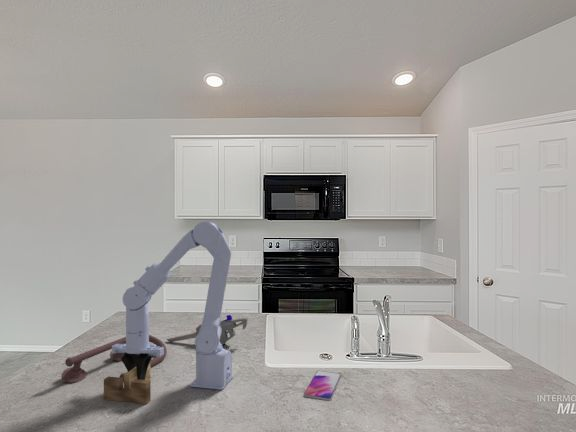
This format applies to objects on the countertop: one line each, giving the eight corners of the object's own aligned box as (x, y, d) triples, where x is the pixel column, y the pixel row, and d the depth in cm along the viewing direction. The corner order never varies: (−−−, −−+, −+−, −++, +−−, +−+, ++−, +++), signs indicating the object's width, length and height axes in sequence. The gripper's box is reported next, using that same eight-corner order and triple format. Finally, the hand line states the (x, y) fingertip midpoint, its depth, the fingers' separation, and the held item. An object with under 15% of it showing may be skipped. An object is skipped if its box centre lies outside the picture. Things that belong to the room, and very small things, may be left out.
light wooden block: (145, 378, 98) (145, 360, 98) (150, 379, 97) (150, 361, 97) (123, 394, 89) (123, 374, 89) (129, 394, 89) (129, 375, 89)
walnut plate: (150, 400, 85) (150, 380, 86) (146, 404, 84) (146, 383, 84) (108, 396, 88) (108, 376, 88) (103, 399, 86) (103, 379, 86)
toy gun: (249, 342, 122) (245, 313, 123) (166, 350, 127) (163, 322, 127) (250, 340, 124) (246, 312, 124) (169, 348, 129) (165, 321, 129)
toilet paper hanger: (102, 389, 89) (61, 353, 95) (95, 412, 90) (54, 375, 96) (177, 350, 115) (141, 324, 121) (171, 368, 116) (135, 341, 122)
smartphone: (341, 373, 99) (330, 399, 84) (341, 376, 99) (330, 402, 84) (317, 369, 101) (302, 394, 87) (317, 372, 101) (302, 397, 87)
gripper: (169, 327, 96) (170, 376, 96) (124, 324, 99) (124, 372, 99) (154, 335, 89) (155, 388, 89) (106, 332, 92) (106, 383, 92)
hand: (137, 380), depth 93 cm, fingers closed on light wooden block, 2 cm apart
